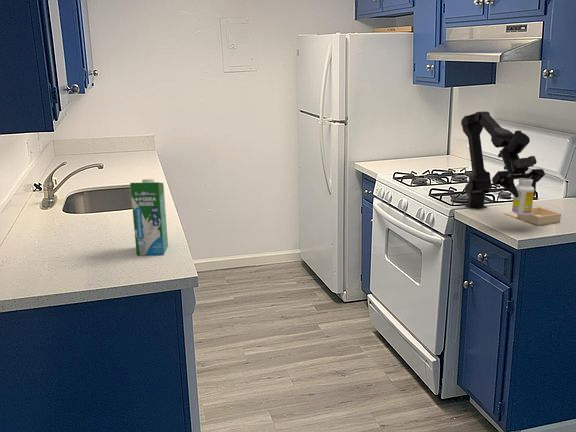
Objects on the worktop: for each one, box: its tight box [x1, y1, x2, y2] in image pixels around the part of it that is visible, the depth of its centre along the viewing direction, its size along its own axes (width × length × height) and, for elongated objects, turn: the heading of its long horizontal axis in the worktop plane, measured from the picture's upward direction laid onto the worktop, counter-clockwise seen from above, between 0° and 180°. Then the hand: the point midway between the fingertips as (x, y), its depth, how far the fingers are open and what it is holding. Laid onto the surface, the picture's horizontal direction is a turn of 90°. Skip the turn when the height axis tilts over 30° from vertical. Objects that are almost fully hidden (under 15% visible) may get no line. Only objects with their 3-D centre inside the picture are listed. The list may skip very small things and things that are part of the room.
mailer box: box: [503, 206, 562, 227], centre depth 231 cm, size 18×11×4 cm, turn 22°
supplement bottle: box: [511, 178, 535, 215], centre depth 213 cm, size 7×7×13 cm
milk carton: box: [129, 178, 169, 257], centre depth 196 cm, size 9×9×25 cm
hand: (526, 196), depth 212 cm, fingers closed on supplement bottle, 7 cm apart
